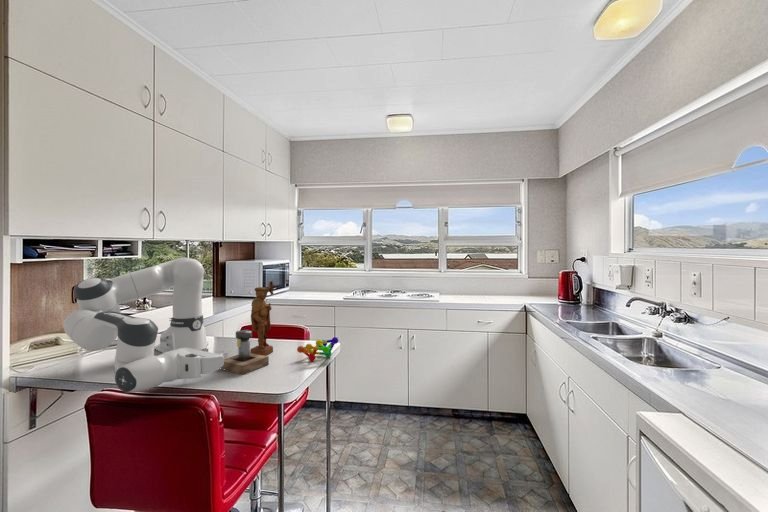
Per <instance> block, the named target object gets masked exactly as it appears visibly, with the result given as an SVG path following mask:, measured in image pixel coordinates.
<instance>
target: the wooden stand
mask: <svg viewBox="0 0 768 512" xmlns="http://www.w3.org/2000/svg"><path fill="white" fill-rule="evenodd" d="M269 362H270V359H269V356H268V355H267V356H263V355H258V354H253V353H250V360H248V361H245V362H241V361H239V358H238V354H236V355H233V356H229V357H227V358H224V365H223V366H222V367H221V369H220V370H222V369H225V370H224V371H226V370H228V371H227V372H231V371H232V372H233V373H235V372H237V373H236V374H240V373H242V374H241V375H245V374H248V373H250V371H251V372H253V371H256V370H258V369H261V368H263V367H265V365H266V366H269V365H270V364H269ZM268 364H269V365H268ZM262 366H263V367H262ZM260 367H261V368H260ZM257 368H258V369H257ZM255 369H256V370H255ZM252 370H253V371H252ZM232 372H231V373H232ZM247 372H248V373H247ZM244 373H245V374H244Z"/></svg>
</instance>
